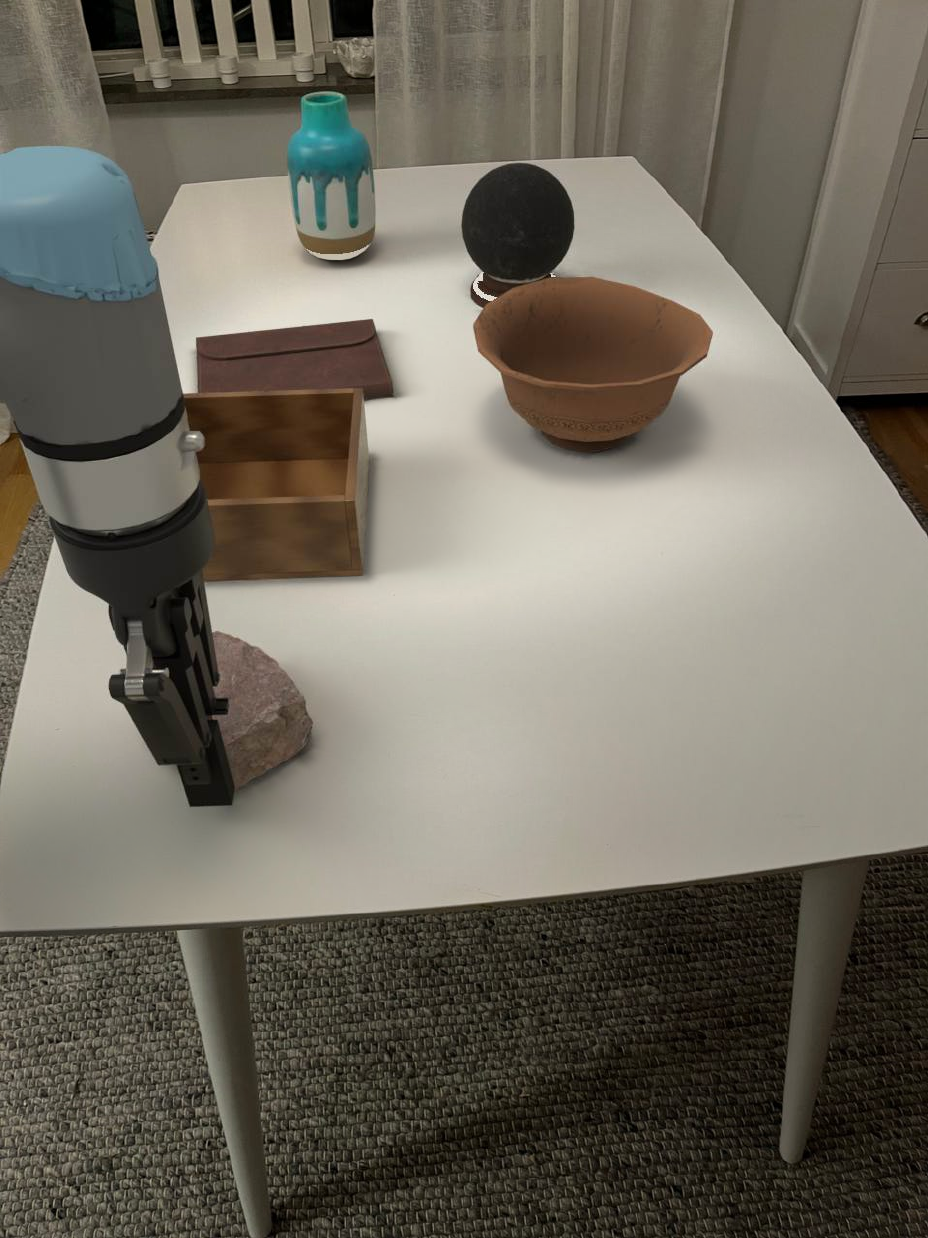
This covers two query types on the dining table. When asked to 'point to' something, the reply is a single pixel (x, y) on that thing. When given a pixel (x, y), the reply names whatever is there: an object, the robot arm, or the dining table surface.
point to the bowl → (589, 356)
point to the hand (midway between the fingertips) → (212, 797)
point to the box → (283, 481)
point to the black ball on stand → (516, 227)
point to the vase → (331, 178)
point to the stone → (257, 709)
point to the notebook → (295, 360)
